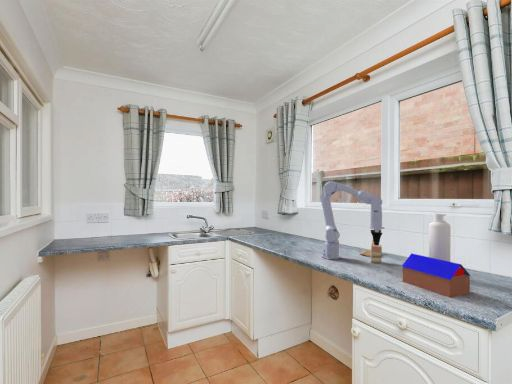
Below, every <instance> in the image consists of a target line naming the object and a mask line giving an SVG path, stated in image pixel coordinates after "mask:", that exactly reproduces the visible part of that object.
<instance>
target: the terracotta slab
mask: <svg viewBox="0 0 512 384" xmlns="http://www.w3.org/2000/svg"><path fill="white" fill-rule="evenodd" d="M382 248H383V247H382V245H381V244H379V245H372V244H371V246H370V249H371V252H380V253H382V251H383V250H382Z"/></svg>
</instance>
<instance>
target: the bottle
mask: <svg viewBox="0 0 512 384" xmlns="http://www.w3.org/2000/svg"><path fill="white" fill-rule="evenodd" d="M428 257H430V258H435V259H439V260H444V261H448V262H451V225H450V224H449V223H448V222H447V215H446V213H433V220H432V222H430V223H429V225H428Z"/></svg>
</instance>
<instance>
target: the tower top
mask: <svg viewBox="0 0 512 384" xmlns="http://www.w3.org/2000/svg"><path fill="white" fill-rule="evenodd" d="M371 257H372V258H381V259H382V253H380V252H371ZM371 257H370V258H371Z"/></svg>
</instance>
